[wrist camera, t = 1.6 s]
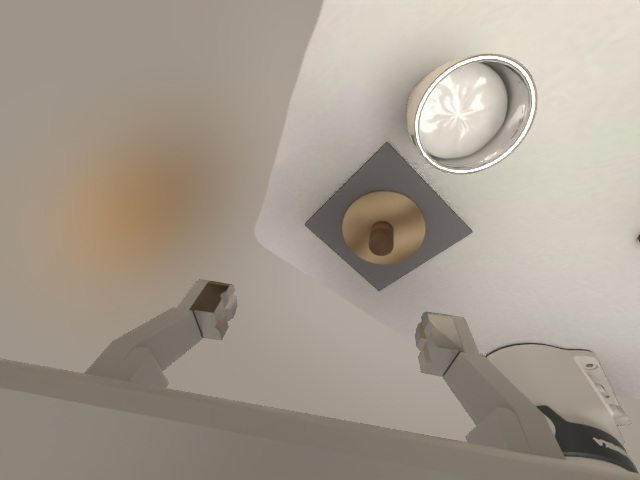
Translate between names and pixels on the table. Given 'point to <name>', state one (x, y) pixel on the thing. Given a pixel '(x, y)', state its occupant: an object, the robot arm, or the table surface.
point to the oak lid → (383, 227)
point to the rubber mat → (400, 177)
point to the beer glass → (471, 112)
